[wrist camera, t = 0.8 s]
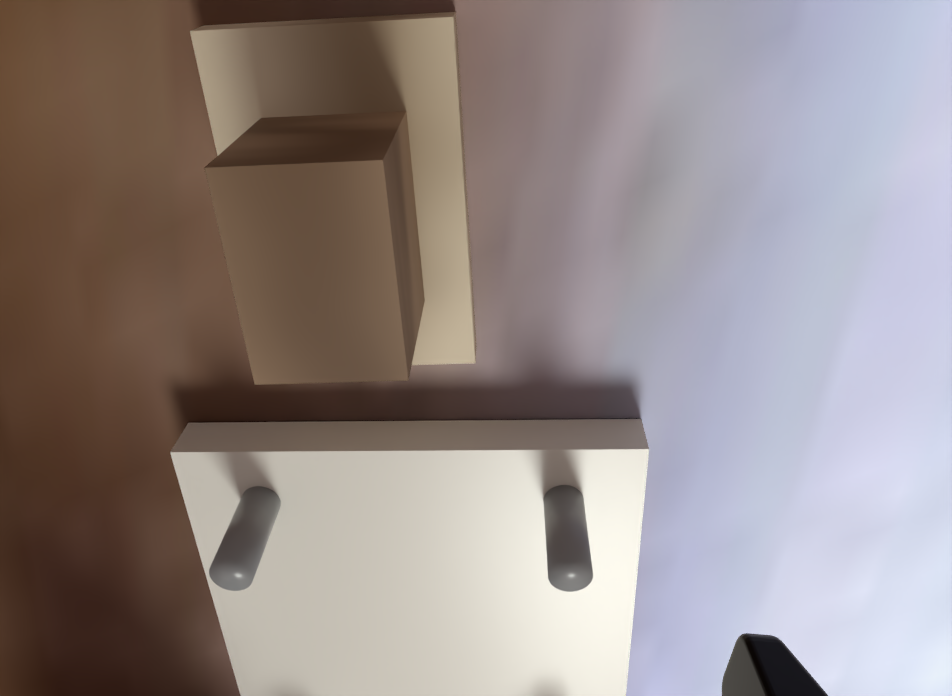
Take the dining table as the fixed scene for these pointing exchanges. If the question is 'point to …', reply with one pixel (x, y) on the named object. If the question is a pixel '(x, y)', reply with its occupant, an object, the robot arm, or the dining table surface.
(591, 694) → the chassis
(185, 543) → the dining table surface
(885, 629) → the dining table surface
